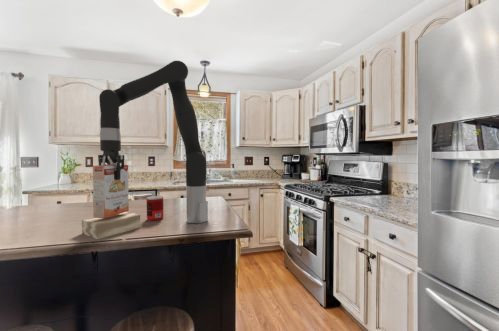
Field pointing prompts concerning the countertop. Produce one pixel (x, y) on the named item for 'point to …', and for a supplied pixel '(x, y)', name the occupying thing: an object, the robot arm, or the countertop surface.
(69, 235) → the countertop surface
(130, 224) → the folded beige towel
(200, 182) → the robot arm
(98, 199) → the cracker box
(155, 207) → the canned food
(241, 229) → the countertop surface
